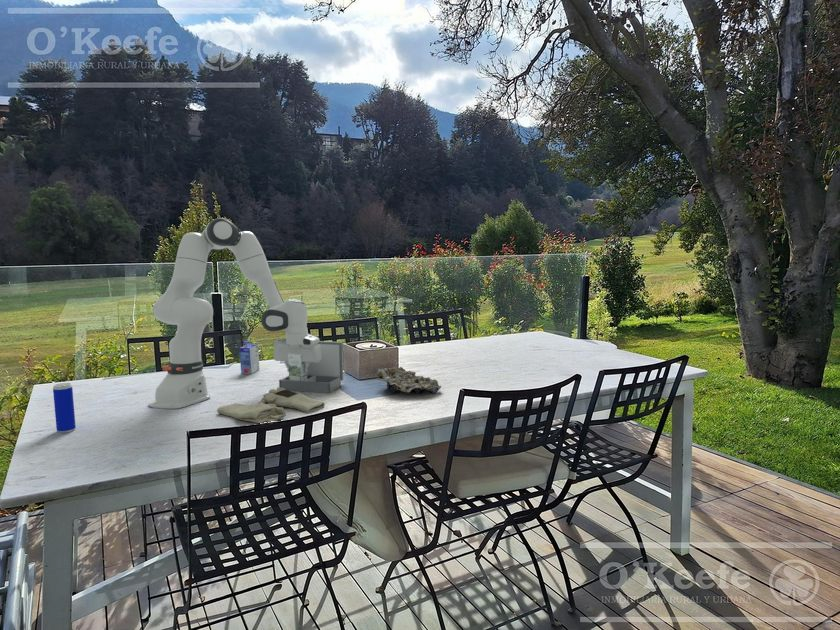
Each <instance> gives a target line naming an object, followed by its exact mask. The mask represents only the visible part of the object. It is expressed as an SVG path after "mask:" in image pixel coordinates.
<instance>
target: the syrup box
mask: <svg viewBox="0 0 840 630" xmlns="http://www.w3.org/2000/svg"><path fill="white" fill-rule="evenodd" d="M288 364H289V372H288V376H289V380H294V381H305V380H307V373H303V369H304V368H306V366H307V365H306V362H302V355H301V354H288Z"/></svg>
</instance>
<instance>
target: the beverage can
mask: <svg viewBox="0 0 840 630" xmlns="http://www.w3.org/2000/svg"><path fill="white" fill-rule="evenodd" d="M73 390H74V389H73V385H72V383H70V382H62V383H56V384H54V385H53V388H52V392H53V404H54V417H55V426H56V427H55V428H56V431H57V432H58V433H61V434H62V433H70V432H73V431H75V430H76V427H77V426H76V416H75V405H74V392H73Z"/></svg>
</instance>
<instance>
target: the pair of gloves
mask: <svg viewBox="0 0 840 630" xmlns="http://www.w3.org/2000/svg"><path fill="white" fill-rule="evenodd" d="M324 407H325V402H324V401H322V400H319V399H315V398H312V397H309V396H306V395H304V394H303V393H300V392H298V391H290V390H286V389H284V388H280V387H279V386H278V387H277V388H276V389H275V388H273V389H269V390H268V393H264V394H263V397H262V398H261V400H260V401H259V402H257V403H252V404H249V405H248V404H241V403H236V402H235V403H231V404H228V405H223V406H219V407H217V409H216V412H217V413H218V414H220V415H224V416H228V417H232V418H234V419H237V420H241V421H244V422H251V423H252V422H253V424H254V423H255V424H257V423H264V422H271V421H277V422H278V420H282V419H284V417H286V415H287V414H286V413H287V412H286V411H285V409H284V408H290V409H296V410H299V411H300V412H304V413H312V412H314V411H317V410H320V409H323V408H324Z"/></svg>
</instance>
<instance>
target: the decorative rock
mask: <svg viewBox="0 0 840 630" xmlns="http://www.w3.org/2000/svg"><path fill="white" fill-rule="evenodd" d="M376 376H377V379H378V381H379V382H386V387H387V388H388V389H390V391H391V392H397V390H398V391H401V392H404V393H411V391H413V390H414V392H415V394H419V393H420V392H422V391H424V390H428V391H429V392H430V393H431V394H434V393H438V392H439V391H440V390H441V388H442V385H439V381H438V380H437V379H435V378H434V379H432V378H431V377H429V376H428V377H425V376H423V375H416V371H412V370H406V369H404V367H402V366H400V367H397V366H396V365H393V367H388V368H386V367H384V368H377V372H376Z"/></svg>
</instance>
